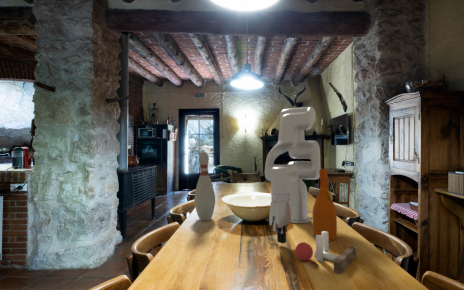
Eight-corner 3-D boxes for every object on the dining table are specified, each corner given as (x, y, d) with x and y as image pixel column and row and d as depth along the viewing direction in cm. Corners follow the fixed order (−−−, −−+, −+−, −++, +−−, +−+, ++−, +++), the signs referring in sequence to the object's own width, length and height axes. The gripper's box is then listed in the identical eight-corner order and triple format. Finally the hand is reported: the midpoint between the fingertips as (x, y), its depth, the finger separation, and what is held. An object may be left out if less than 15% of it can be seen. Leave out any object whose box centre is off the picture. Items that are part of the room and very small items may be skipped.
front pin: (316, 248, 96) (340, 254, 90) (317, 254, 96) (340, 260, 90) (314, 250, 94) (337, 257, 88) (314, 257, 94) (338, 263, 88)
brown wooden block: (350, 255, 94) (350, 245, 94) (356, 256, 93) (355, 247, 93) (333, 272, 83) (333, 261, 83) (340, 274, 81) (339, 263, 81)
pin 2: (323, 253, 97) (323, 230, 97) (329, 254, 95) (329, 232, 95) (320, 255, 95) (320, 232, 95) (327, 257, 93) (326, 233, 93)
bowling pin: (214, 222, 138) (213, 151, 138) (193, 222, 138) (191, 152, 138) (216, 216, 149) (214, 151, 149) (196, 216, 149) (194, 151, 149)
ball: (318, 252, 92) (306, 239, 96) (313, 252, 87) (301, 238, 91) (306, 264, 93) (295, 250, 96) (301, 264, 88) (289, 250, 92)
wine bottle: (321, 243, 106) (320, 170, 106) (308, 235, 115) (307, 168, 115) (342, 240, 109) (340, 169, 108) (327, 232, 118) (326, 167, 118)
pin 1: (317, 257, 93) (317, 234, 93) (324, 259, 91) (323, 235, 91) (315, 260, 91) (314, 236, 91) (321, 262, 90) (321, 237, 90)
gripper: (282, 193, 113) (283, 235, 113) (262, 199, 101) (263, 245, 102) (297, 195, 107) (299, 238, 108) (278, 201, 96) (279, 250, 97)
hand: (281, 242), depth 105 cm, fingers closed
